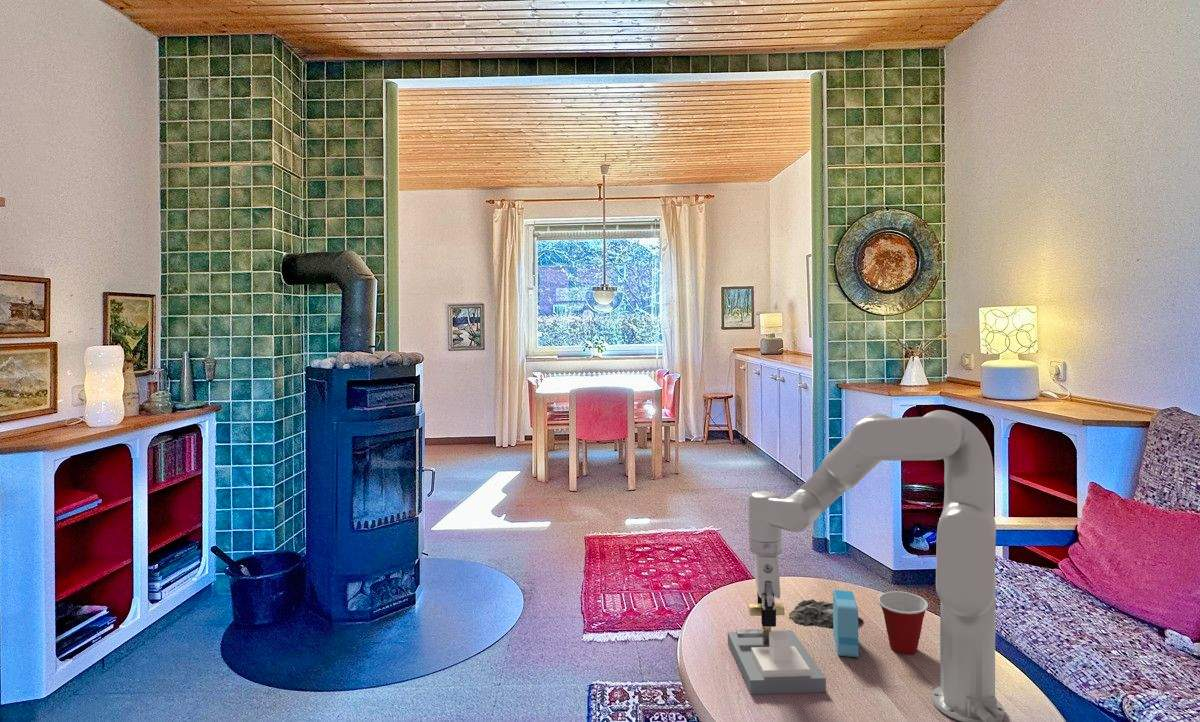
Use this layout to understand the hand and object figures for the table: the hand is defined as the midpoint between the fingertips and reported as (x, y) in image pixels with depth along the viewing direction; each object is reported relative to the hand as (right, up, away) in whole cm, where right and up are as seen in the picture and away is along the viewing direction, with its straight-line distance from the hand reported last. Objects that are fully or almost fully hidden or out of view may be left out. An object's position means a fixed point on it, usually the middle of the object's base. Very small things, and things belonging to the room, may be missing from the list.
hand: (766, 616), depth 148 cm
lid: (0, -7, -10) cm, 12 cm away
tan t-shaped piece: (-1, -6, 0) cm, 6 cm away
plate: (0, -10, -5) cm, 11 cm away
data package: (+20, -9, +4) cm, 22 cm away
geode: (+21, -9, +21) cm, 31 cm away
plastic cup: (+33, -9, +2) cm, 34 cm away
